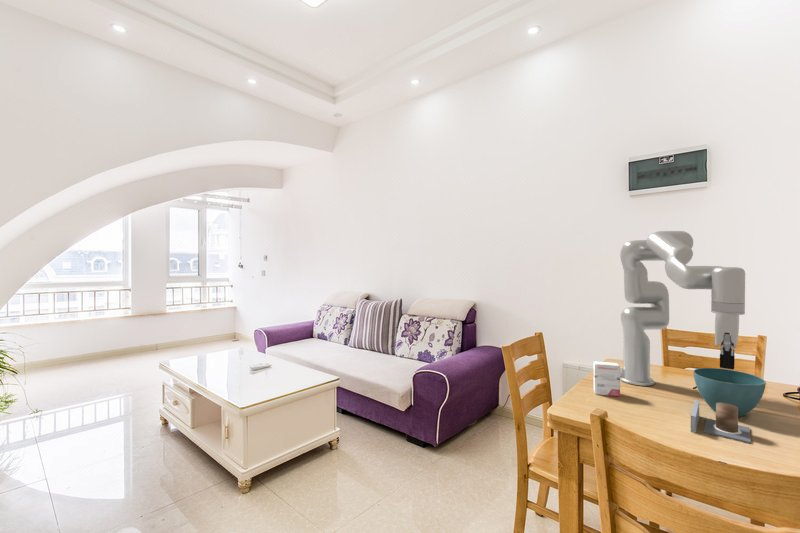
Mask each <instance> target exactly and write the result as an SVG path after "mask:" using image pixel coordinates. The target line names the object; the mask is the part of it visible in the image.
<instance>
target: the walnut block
mask: <svg viewBox="0 0 800 533" xmlns="http://www.w3.org/2000/svg"><path fill="white" fill-rule="evenodd" d="M715 420H716V427H717V428H718V429H720V430H722V431H726V432H731V433H737V432H738V425H739V416H738V407H737V406H735V405H732V404H728V403H716V411H715Z"/></svg>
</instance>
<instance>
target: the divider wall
mask: <svg viewBox="0 0 800 533" xmlns="http://www.w3.org/2000/svg"><path fill="white" fill-rule="evenodd" d="M699 419H700V400H696V399H694V401H693V405H692V409H691V412H690V433H693V434H696V433H697V430H698V423H699V421H700V420H699Z"/></svg>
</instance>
